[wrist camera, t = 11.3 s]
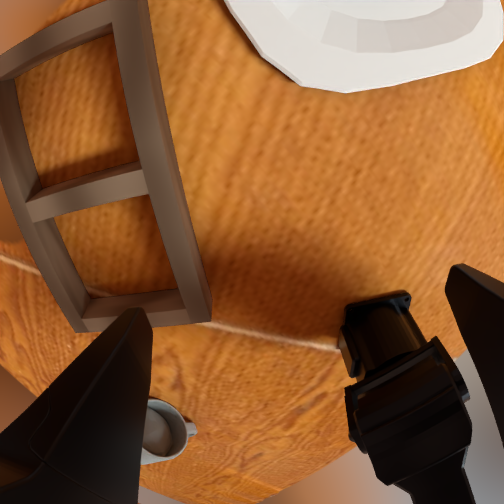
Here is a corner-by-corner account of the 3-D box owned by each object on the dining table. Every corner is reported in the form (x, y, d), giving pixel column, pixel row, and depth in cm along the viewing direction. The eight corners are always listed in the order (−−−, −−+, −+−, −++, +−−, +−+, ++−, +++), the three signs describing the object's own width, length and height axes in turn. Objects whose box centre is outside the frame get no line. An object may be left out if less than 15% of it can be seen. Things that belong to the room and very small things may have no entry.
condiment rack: (147, 0, 13) (135, -10, 10) (212, 299, 24) (211, 321, 22) (-3, 69, 13) (-24, 73, 11) (84, 313, 24) (75, 332, 22)
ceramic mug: (111, 409, 34) (102, 459, 27) (135, 388, 31) (126, 447, 24) (178, 434, 38) (176, 480, 32) (210, 416, 35) (211, 470, 29)
